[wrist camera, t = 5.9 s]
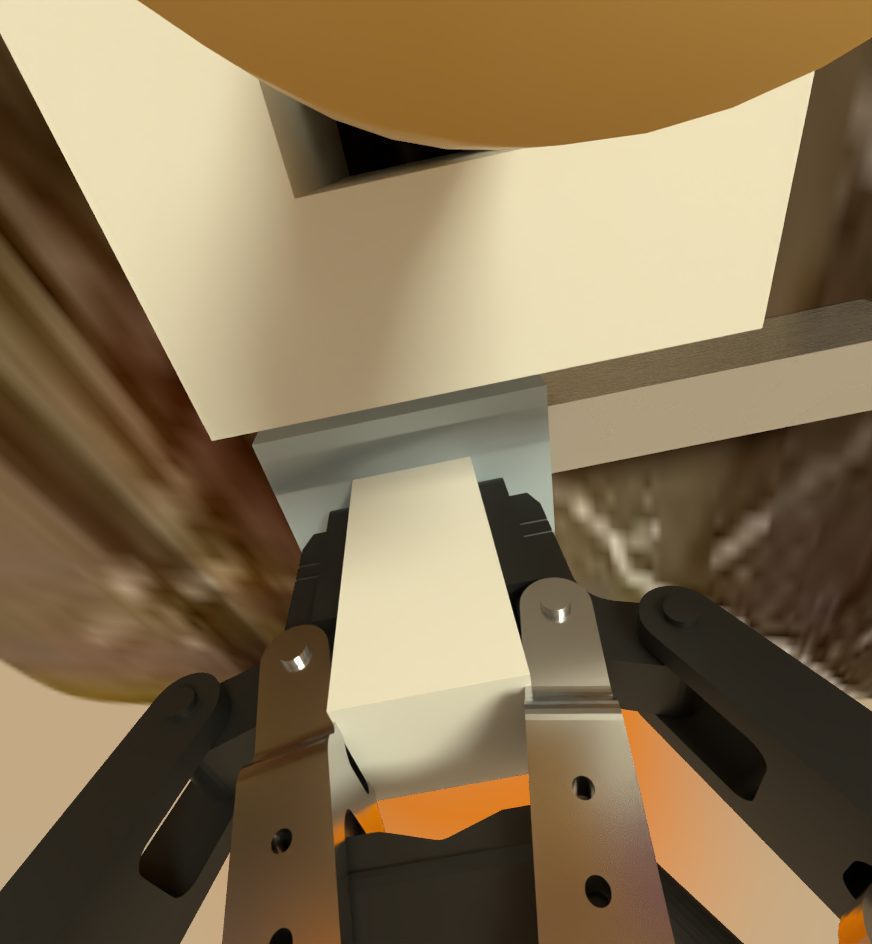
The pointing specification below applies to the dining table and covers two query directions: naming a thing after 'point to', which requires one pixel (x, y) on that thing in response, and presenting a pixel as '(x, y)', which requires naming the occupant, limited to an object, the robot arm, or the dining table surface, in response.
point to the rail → (713, 388)
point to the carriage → (421, 576)
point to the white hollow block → (391, 228)
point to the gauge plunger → (522, 60)
